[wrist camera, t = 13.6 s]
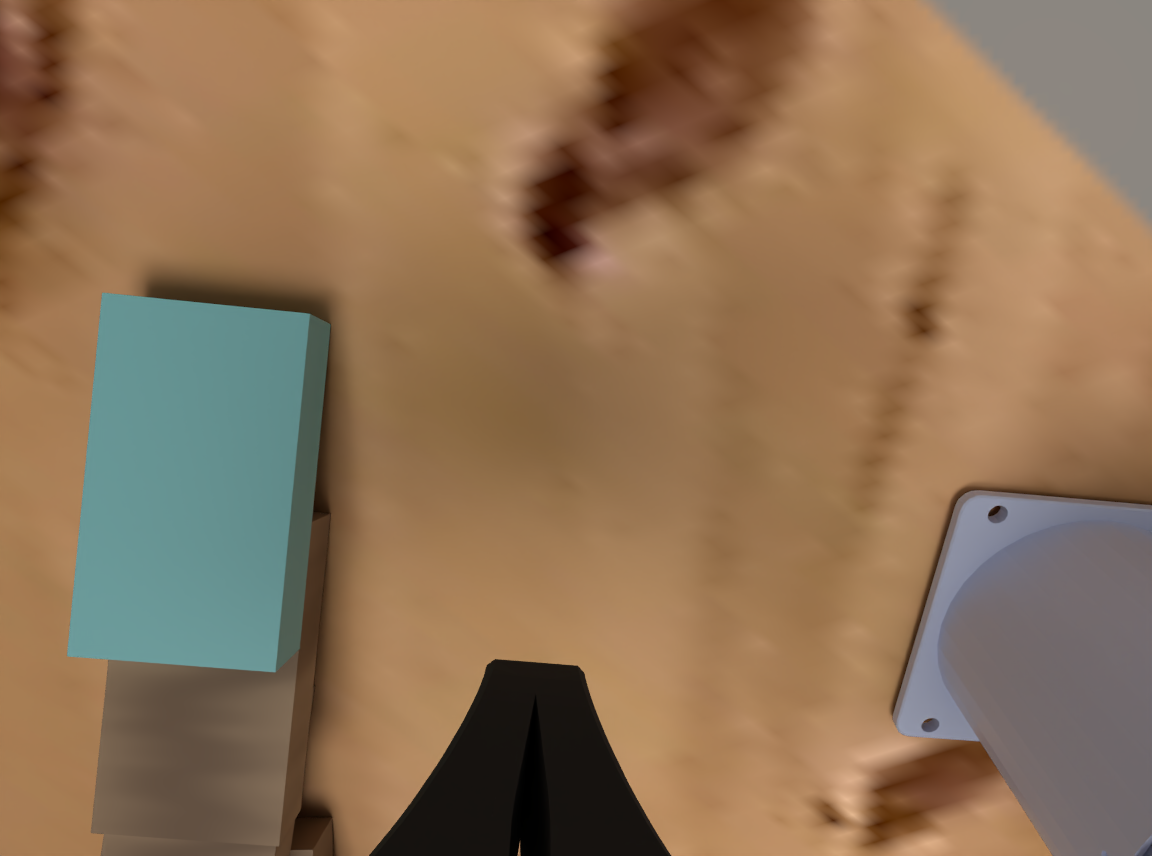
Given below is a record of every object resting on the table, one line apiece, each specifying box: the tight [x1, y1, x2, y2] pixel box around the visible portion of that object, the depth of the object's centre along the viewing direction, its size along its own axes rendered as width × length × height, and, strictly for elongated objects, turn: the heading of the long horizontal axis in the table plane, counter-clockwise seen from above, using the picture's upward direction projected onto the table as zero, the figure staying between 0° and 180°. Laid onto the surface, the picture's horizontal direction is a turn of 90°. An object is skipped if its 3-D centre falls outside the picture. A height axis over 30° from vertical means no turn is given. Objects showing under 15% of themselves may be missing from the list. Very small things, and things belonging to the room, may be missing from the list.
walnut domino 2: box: [101, 685, 315, 856], centre depth 24 cm, size 4×2×8 cm
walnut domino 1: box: [91, 512, 331, 847], centre depth 22 cm, size 4×2×8 cm
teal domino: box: [67, 293, 331, 672], centre depth 20 cm, size 4×2×8 cm
